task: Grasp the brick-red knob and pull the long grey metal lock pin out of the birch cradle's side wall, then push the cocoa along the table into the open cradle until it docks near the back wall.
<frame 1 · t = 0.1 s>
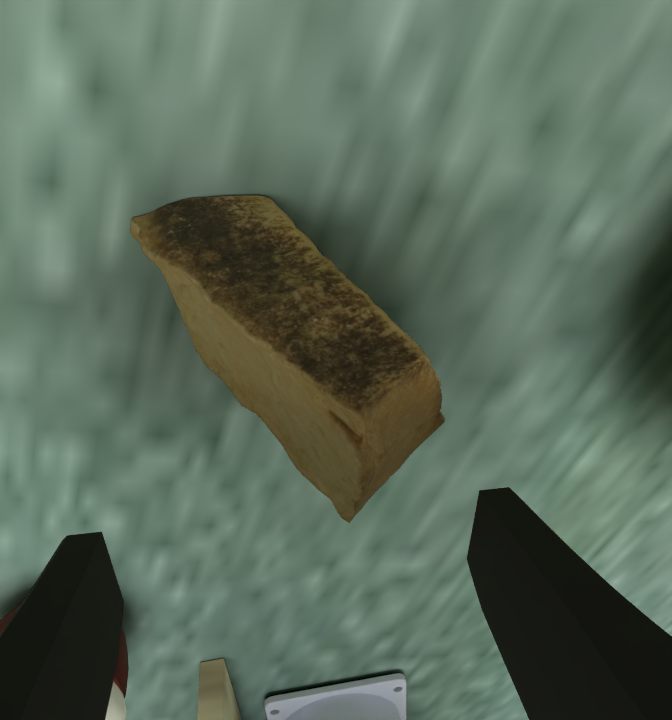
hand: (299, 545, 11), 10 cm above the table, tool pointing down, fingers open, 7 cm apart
rock: (289, 320, 21), on the table
cocoa: (59, 618, 27), on the table
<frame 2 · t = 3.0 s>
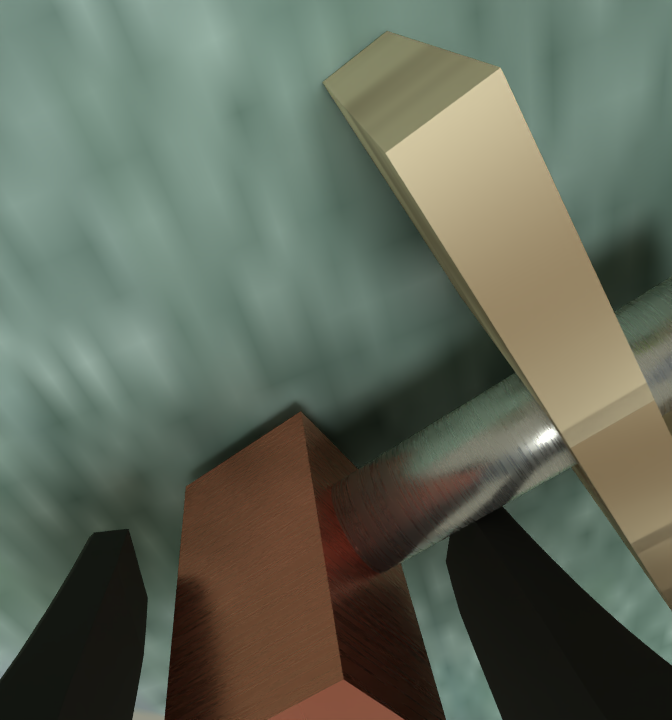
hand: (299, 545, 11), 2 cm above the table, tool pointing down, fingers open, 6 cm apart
lock pin: (486, 488, 10), point 3 cm above the table, slide at 0.1 cm, touching gripper
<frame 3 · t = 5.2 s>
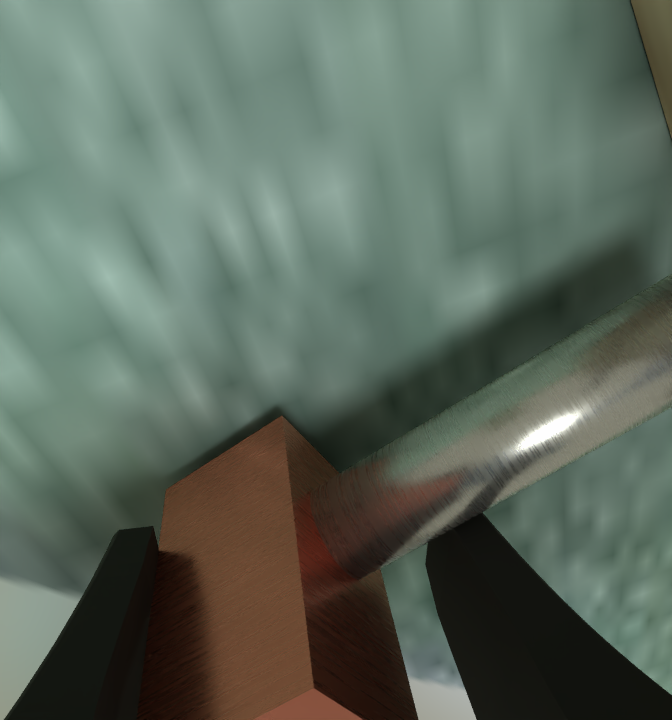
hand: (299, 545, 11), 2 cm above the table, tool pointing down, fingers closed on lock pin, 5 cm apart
lock pin: (464, 496, 10), point 3 cm above the table, slide at 5.0 cm, touching gripper
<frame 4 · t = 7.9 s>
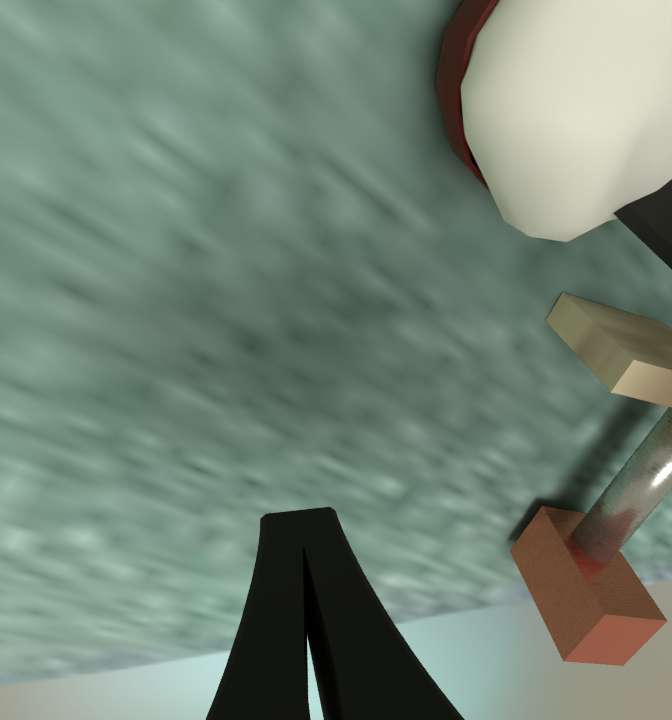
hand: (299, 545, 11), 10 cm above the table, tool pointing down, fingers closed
lock pin: (633, 519, 23), point 3 cm above the table, slide at 4.5 cm
cocoa: (517, 81, 17), on the table
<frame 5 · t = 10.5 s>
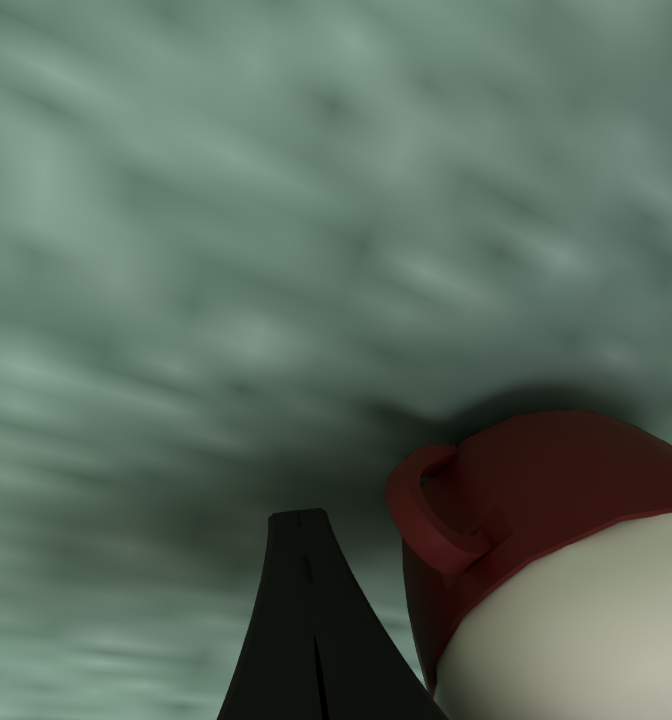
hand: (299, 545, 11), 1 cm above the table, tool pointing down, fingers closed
cocoa: (516, 486, 13), on the table, touching gripper
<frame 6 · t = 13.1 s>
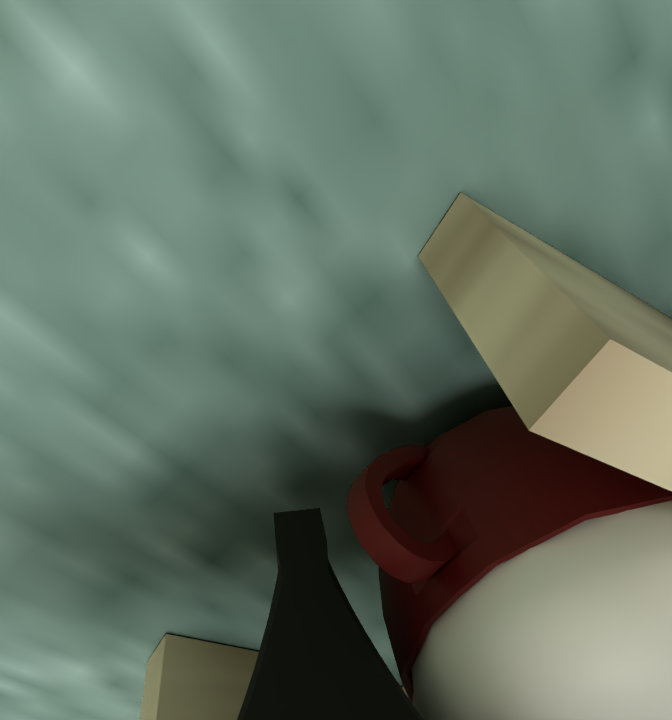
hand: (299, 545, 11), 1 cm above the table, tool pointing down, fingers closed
cocoa: (496, 479, 13), on the table, touching gripper
dock: (441, 535, 14), on the table
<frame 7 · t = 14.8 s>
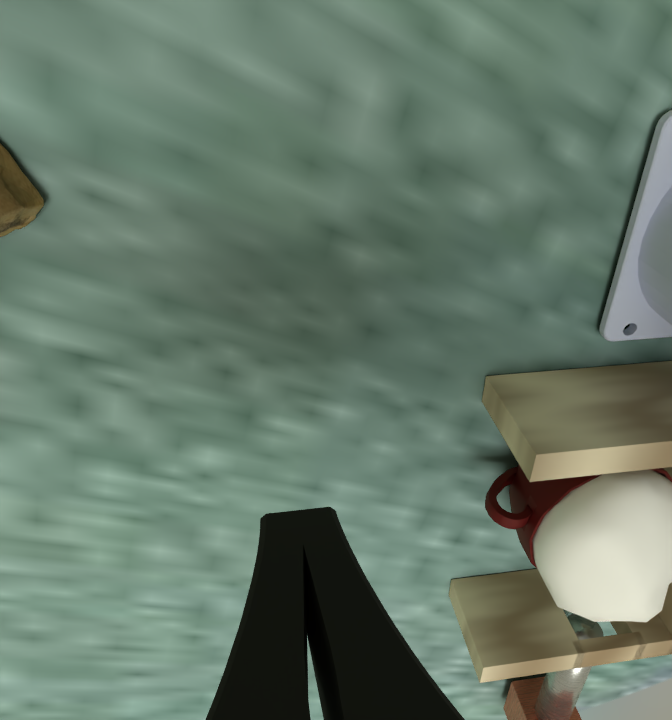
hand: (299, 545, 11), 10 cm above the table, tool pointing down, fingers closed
lock pin: (566, 703, 31), point 3 cm above the table, slide at 4.5 cm
cocoa: (565, 462, 26), on the table
dock: (560, 490, 27), on the table
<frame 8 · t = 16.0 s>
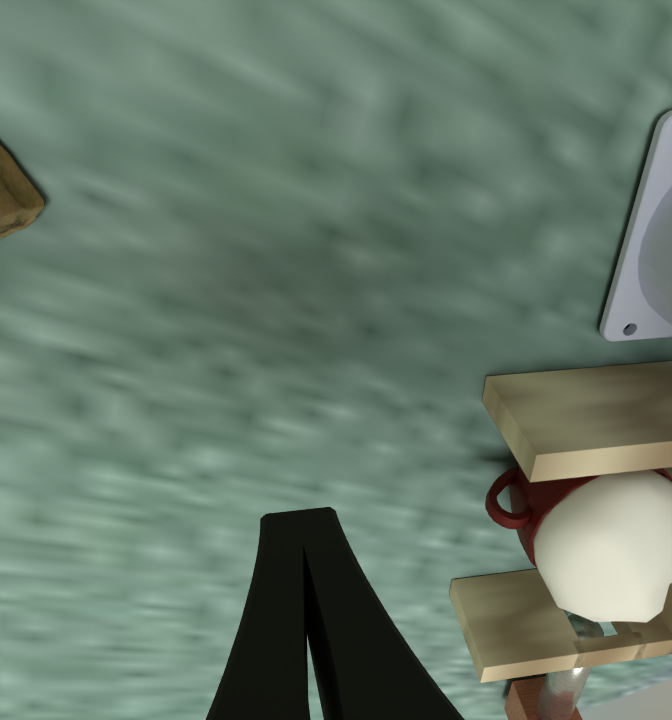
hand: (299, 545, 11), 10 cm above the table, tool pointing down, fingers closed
lock pin: (567, 703, 31), point 3 cm above the table, slide at 4.5 cm
cocoa: (565, 463, 26), on the table
dock: (560, 490, 27), on the table
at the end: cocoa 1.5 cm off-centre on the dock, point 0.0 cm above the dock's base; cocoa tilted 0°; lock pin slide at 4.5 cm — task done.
